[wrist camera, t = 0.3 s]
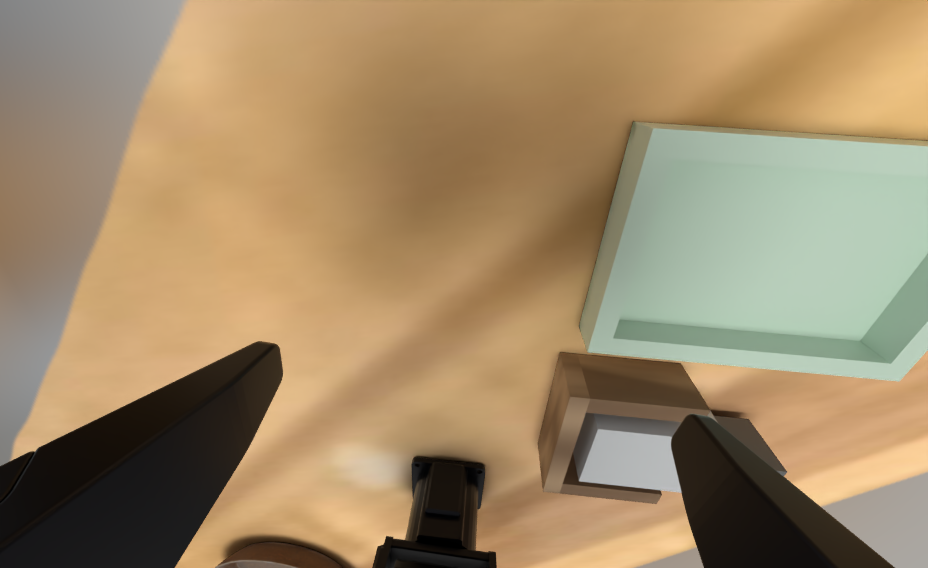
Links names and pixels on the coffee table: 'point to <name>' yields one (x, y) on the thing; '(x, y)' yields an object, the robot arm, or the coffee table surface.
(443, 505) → the robot arm
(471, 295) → the coffee table surface
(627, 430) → the grey stepped block
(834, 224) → the tray
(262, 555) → the plant saucer
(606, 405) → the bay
